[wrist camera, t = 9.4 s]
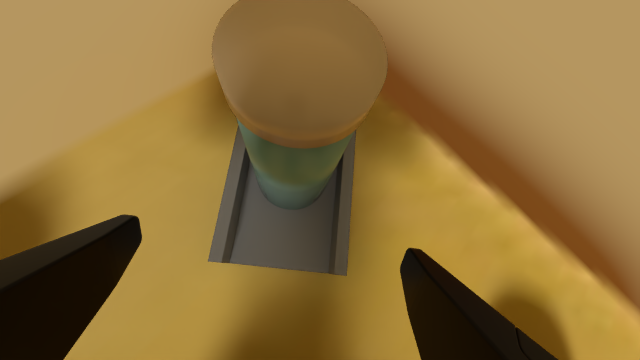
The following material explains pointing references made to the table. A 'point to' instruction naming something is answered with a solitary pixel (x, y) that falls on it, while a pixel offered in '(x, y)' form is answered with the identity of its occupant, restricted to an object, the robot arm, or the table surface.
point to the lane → (283, 221)
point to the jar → (298, 87)
